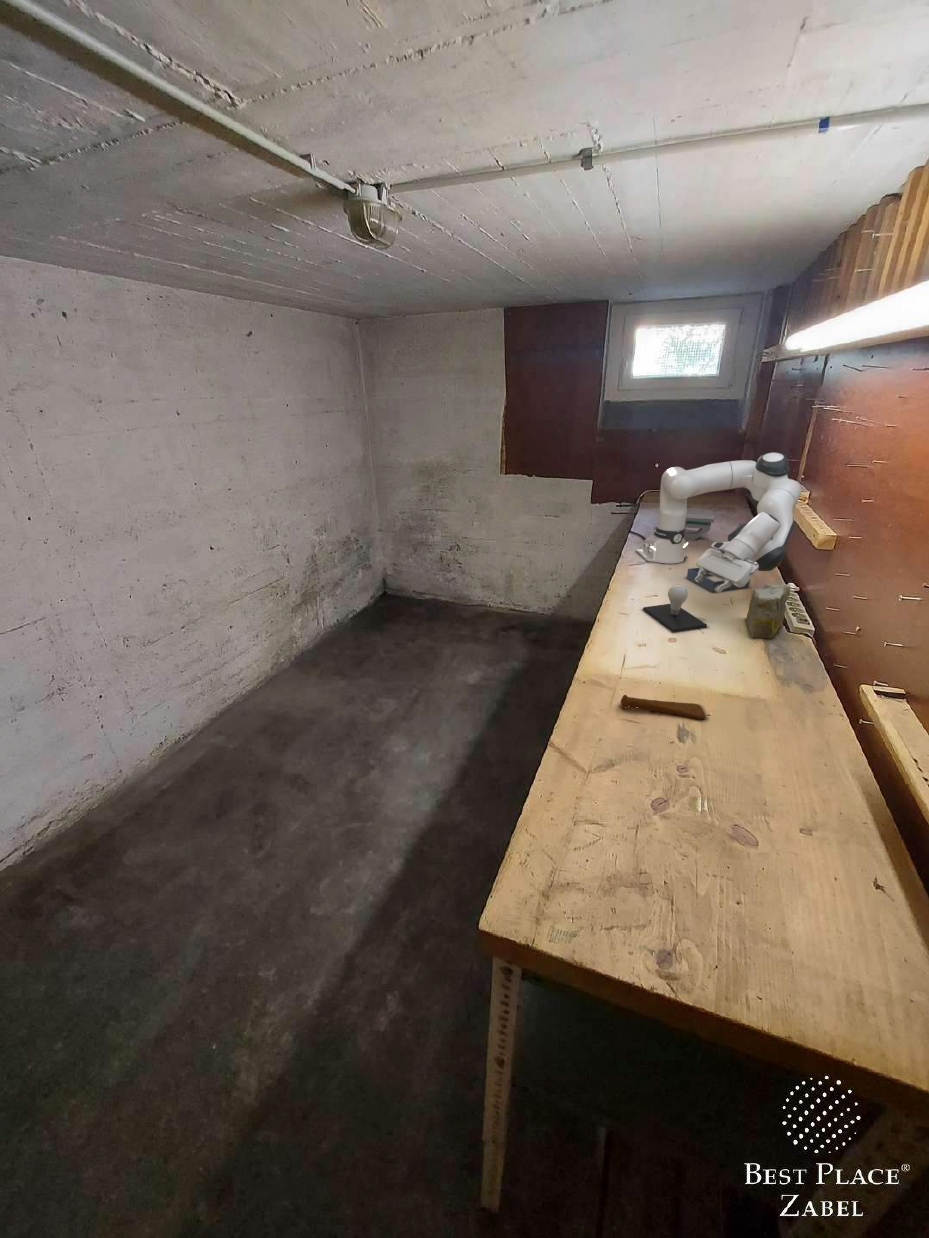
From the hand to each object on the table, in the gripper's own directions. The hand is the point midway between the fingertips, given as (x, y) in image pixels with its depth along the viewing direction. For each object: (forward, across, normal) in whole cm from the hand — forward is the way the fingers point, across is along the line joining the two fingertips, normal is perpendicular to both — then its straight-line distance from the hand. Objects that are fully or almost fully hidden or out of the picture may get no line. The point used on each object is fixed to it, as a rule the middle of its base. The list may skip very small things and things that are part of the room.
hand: (706, 586), depth 162 cm
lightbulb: (+14, 0, +2) cm, 15 cm away
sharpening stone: (-30, +77, -44) cm, 93 cm away
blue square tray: (-10, +20, -24) cm, 33 cm away
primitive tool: (+40, -43, +25) cm, 64 cm away
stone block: (0, -18, -14) cm, 22 cm away
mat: (+15, 0, +1) cm, 15 cm away
